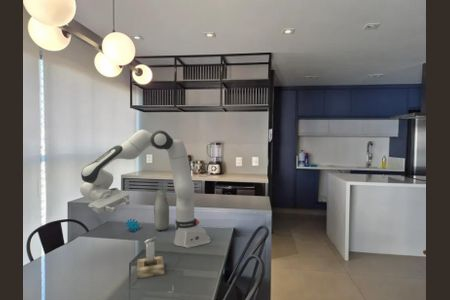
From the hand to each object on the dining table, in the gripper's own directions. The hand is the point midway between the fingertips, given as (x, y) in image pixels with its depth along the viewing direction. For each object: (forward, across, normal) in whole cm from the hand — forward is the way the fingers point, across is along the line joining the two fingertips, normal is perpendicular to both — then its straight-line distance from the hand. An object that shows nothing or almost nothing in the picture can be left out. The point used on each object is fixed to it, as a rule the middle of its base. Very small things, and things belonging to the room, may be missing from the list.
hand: (121, 206), depth 136 cm
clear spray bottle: (+28, -7, +21) cm, 36 cm away
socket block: (+28, -7, +20) cm, 36 cm away
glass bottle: (-3, +39, +38) cm, 54 cm away
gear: (-20, +29, +40) cm, 53 cm away
